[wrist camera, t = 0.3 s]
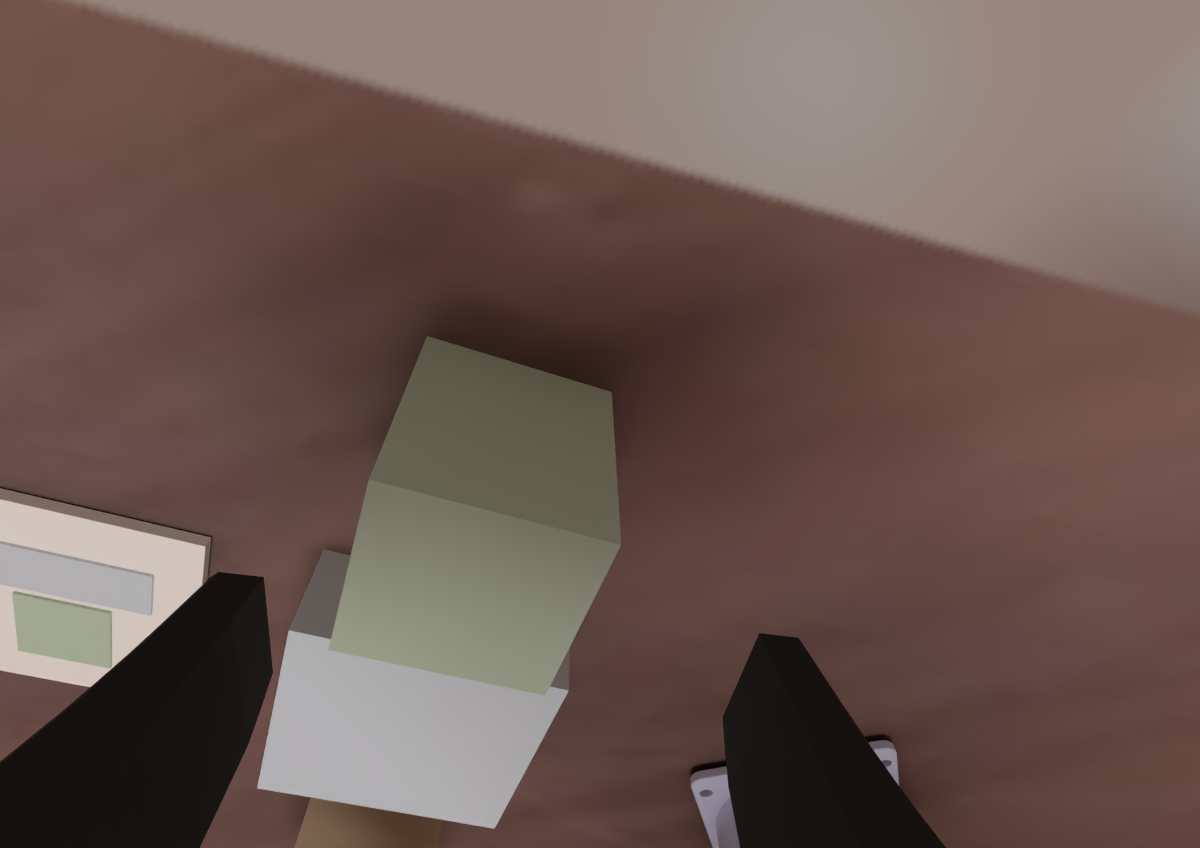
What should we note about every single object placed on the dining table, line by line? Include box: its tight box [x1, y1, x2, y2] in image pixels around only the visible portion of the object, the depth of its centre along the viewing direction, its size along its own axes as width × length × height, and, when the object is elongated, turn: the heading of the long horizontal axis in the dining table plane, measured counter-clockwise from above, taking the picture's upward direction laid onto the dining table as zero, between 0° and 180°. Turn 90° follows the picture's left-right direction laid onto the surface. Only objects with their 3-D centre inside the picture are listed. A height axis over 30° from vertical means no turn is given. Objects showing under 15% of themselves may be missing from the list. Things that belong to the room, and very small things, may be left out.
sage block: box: [328, 336, 621, 695], centre depth 18 cm, size 5×5×6 cm
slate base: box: [257, 549, 570, 828], centre depth 24 cm, size 8×8×4 cm
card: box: [0, 488, 211, 687], centre depth 23 cm, size 8×8×1 cm
